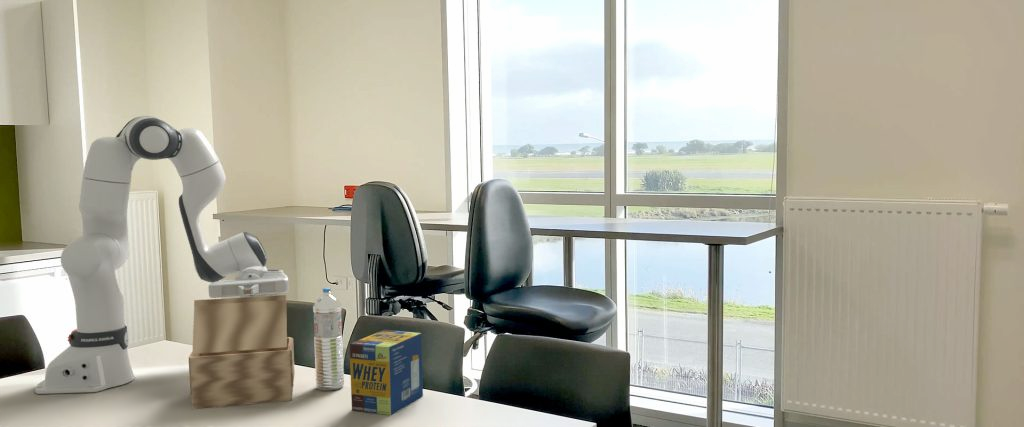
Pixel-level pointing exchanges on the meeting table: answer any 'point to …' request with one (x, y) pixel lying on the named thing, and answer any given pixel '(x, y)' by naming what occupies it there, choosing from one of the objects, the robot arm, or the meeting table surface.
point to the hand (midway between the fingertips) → (247, 291)
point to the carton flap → (239, 324)
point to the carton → (242, 377)
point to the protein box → (386, 371)
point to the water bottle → (328, 342)
